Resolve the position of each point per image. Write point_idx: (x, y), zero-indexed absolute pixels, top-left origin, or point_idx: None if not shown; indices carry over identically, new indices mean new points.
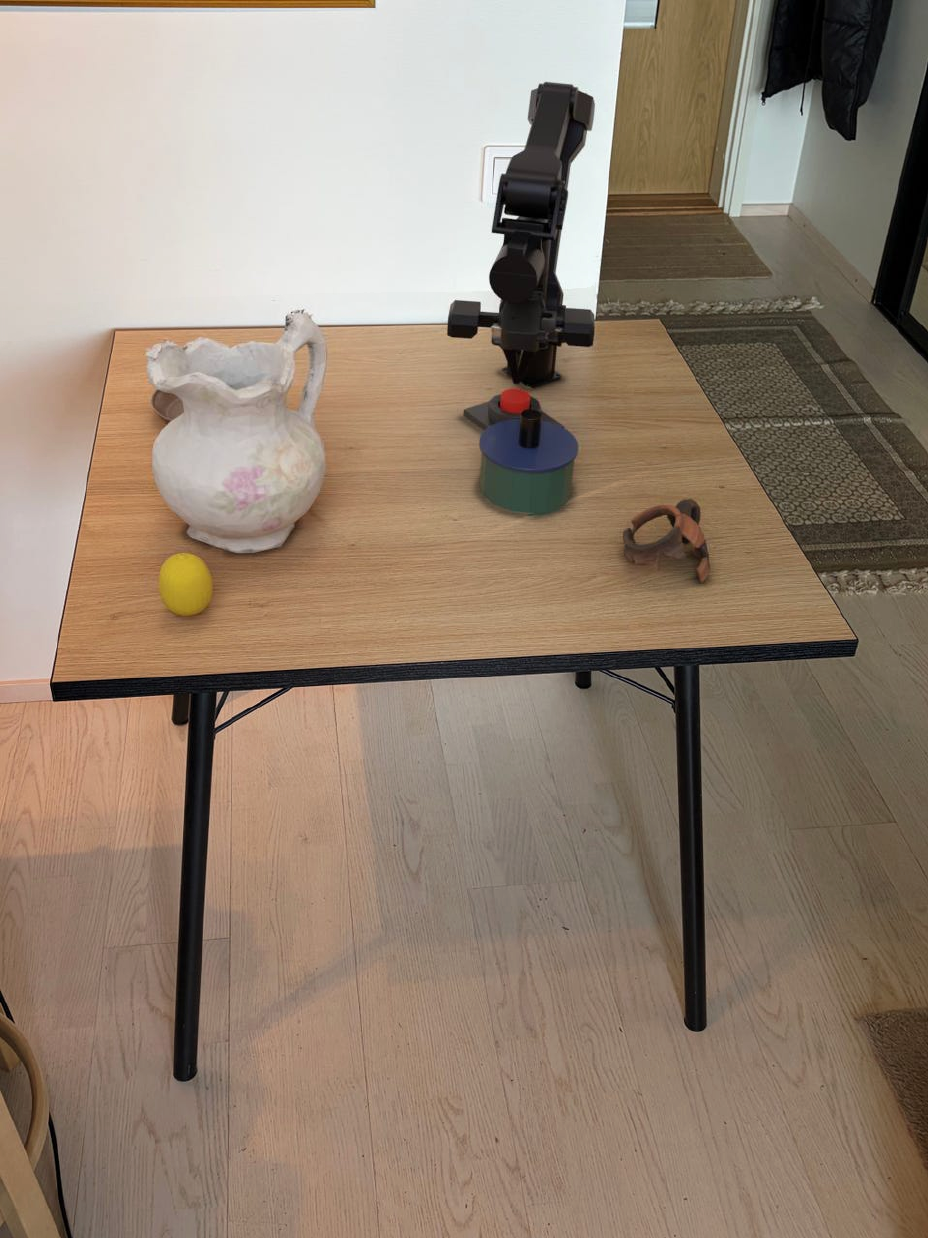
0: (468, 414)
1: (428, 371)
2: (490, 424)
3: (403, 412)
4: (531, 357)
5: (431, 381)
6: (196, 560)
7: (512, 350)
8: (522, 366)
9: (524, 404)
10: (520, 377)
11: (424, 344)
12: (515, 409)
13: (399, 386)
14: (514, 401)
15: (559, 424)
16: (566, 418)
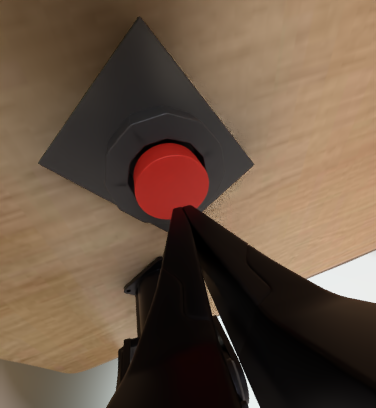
0: (245, 153)
1: (273, 243)
2: (207, 121)
3: (325, 148)
4: (152, 312)
5: (273, 228)
6: None
7: (287, 315)
8: (184, 253)
9: (142, 164)
10: (176, 221)
11: None
12: (163, 148)
13: (310, 207)
14: (171, 161)
15: (54, 167)
16: (73, 214)
